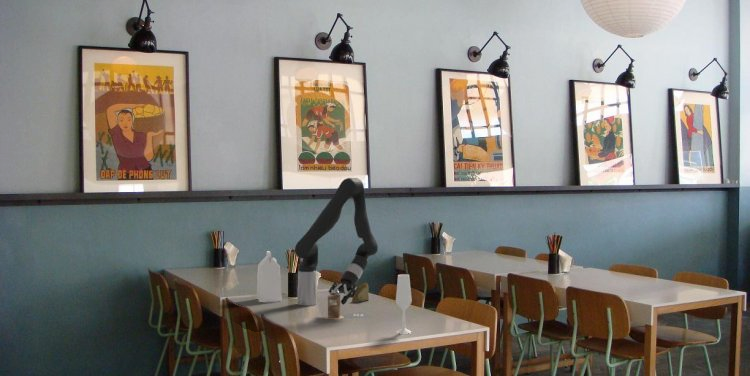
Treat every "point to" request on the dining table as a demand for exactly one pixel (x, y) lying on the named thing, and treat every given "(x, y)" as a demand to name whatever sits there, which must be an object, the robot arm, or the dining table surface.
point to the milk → (269, 280)
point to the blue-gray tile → (358, 315)
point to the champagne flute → (403, 298)
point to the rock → (361, 293)
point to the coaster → (333, 318)
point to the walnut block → (333, 306)
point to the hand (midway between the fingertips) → (335, 302)
